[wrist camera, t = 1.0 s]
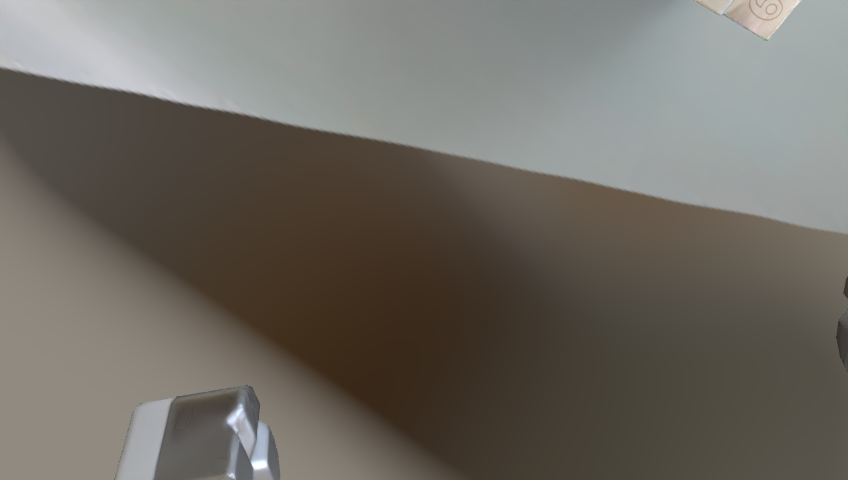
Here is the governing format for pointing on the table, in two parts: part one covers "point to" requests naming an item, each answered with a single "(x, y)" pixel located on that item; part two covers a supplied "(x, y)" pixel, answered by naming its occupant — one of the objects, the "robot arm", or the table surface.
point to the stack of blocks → (753, 13)
